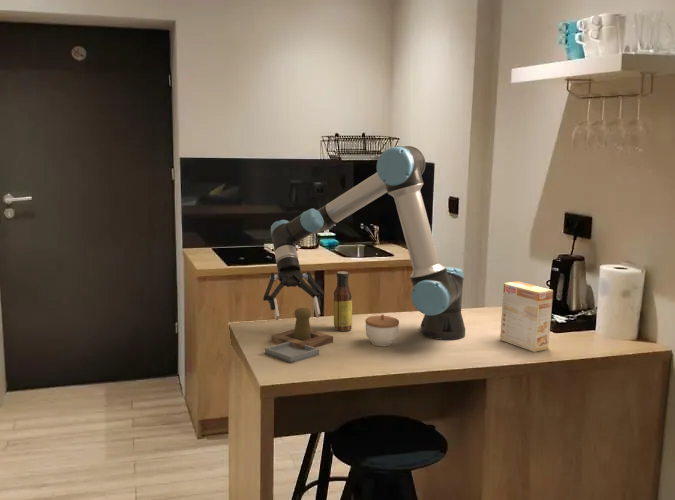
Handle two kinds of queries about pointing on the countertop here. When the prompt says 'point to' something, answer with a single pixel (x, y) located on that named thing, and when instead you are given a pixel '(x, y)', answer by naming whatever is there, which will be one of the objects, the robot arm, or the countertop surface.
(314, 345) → the socket block
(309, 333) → the olive brown bulbous peg
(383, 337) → the lidded jar
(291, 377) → the countertop surface
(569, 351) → the countertop surface
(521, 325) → the coffeecake box
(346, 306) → the sauce bottle
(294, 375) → the countertop surface
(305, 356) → the tray
